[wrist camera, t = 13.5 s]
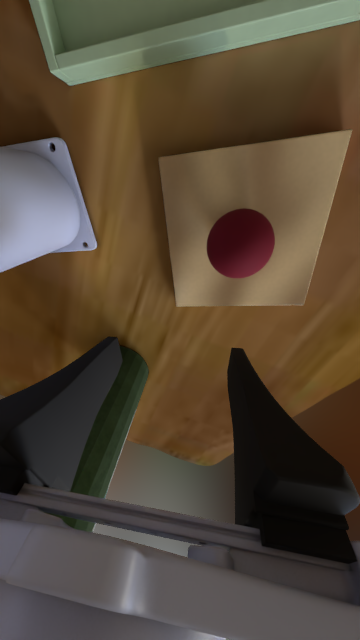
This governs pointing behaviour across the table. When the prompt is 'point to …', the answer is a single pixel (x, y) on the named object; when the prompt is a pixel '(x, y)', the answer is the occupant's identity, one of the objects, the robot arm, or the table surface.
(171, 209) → the board
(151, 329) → the table surface
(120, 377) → the wine bottle
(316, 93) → the table surface
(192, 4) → the tray
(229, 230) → the plum
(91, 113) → the table surface
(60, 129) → the table surface
